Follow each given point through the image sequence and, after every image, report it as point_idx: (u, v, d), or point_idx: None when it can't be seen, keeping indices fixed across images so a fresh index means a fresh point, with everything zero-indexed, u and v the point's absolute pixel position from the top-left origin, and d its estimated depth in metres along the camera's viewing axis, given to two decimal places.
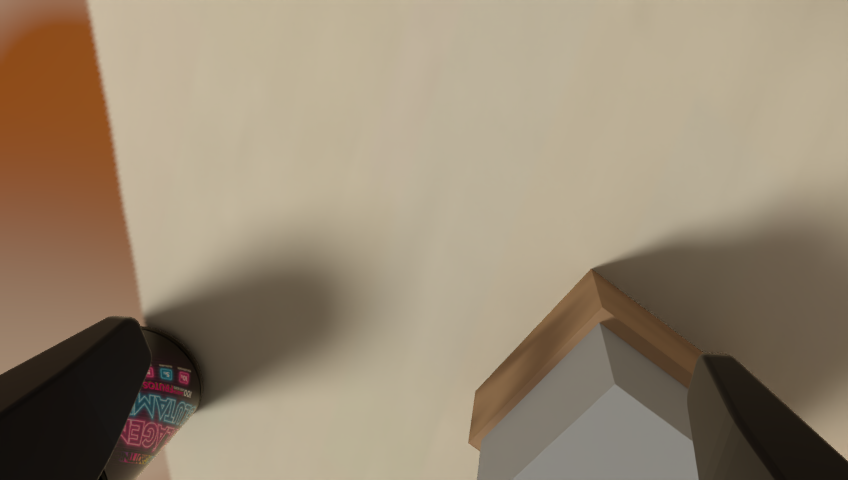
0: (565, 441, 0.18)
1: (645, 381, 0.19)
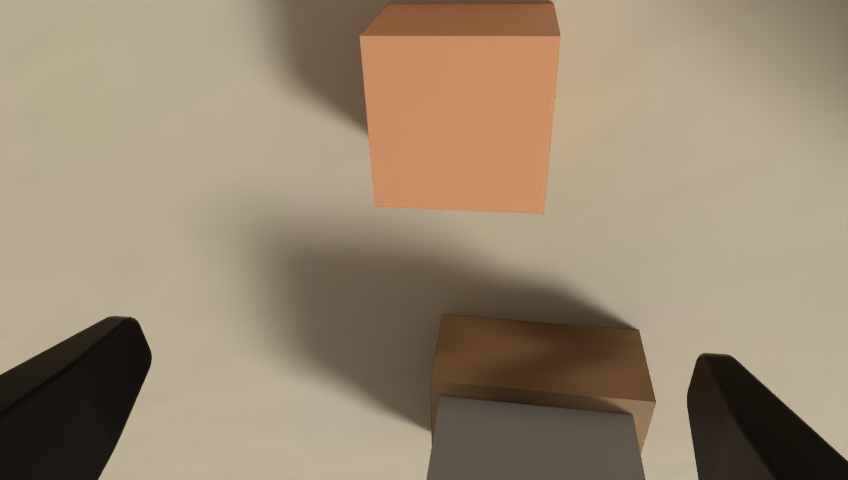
0: None
1: None
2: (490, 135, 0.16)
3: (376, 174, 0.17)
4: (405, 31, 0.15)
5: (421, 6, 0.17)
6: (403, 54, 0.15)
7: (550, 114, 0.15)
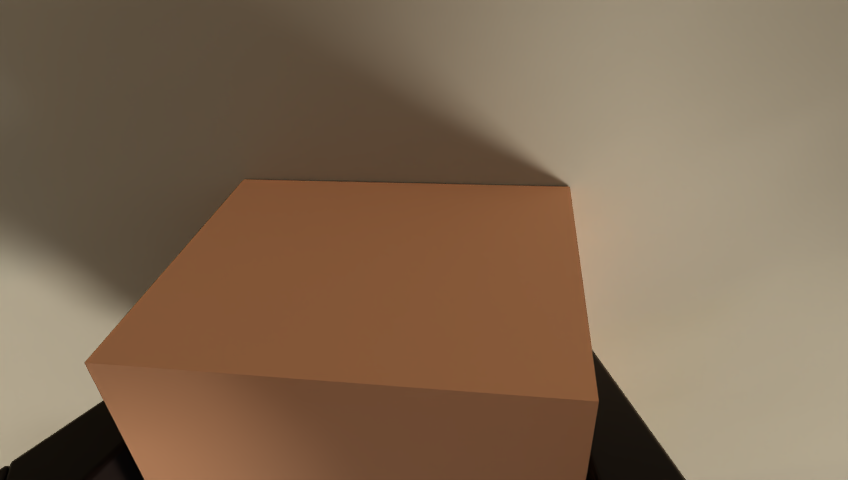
0: None
1: None
2: None
3: None
4: (209, 336, 0.06)
5: (299, 196, 0.09)
6: (200, 402, 0.06)
7: None
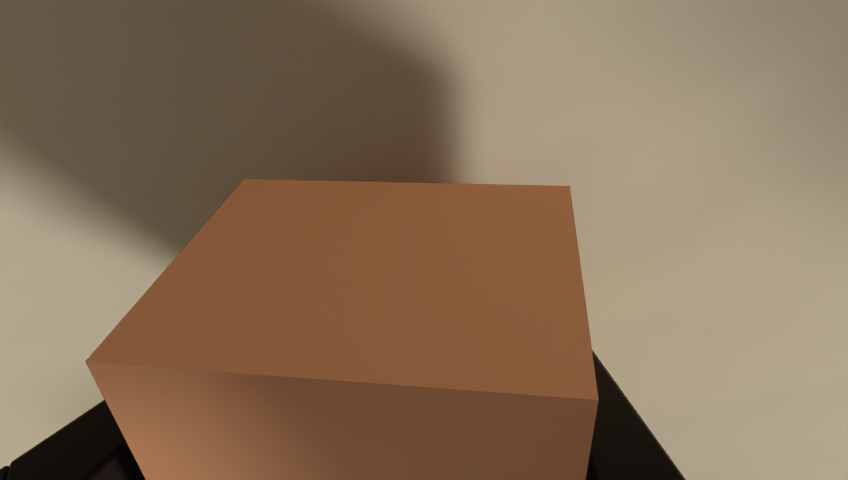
0: None
1: None
2: None
3: None
4: (209, 335, 0.06)
5: (299, 195, 0.09)
6: (201, 401, 0.06)
7: None
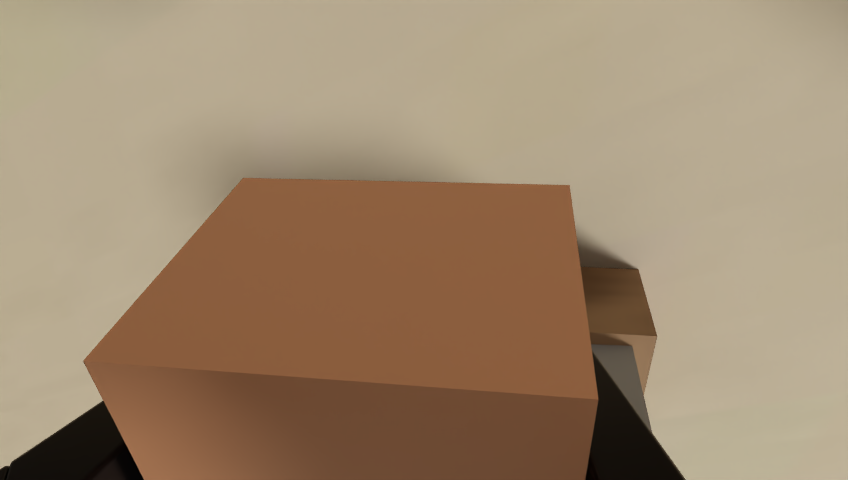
0: None
1: None
2: None
3: None
4: (208, 334, 0.06)
5: (298, 194, 0.09)
6: (199, 401, 0.06)
7: None
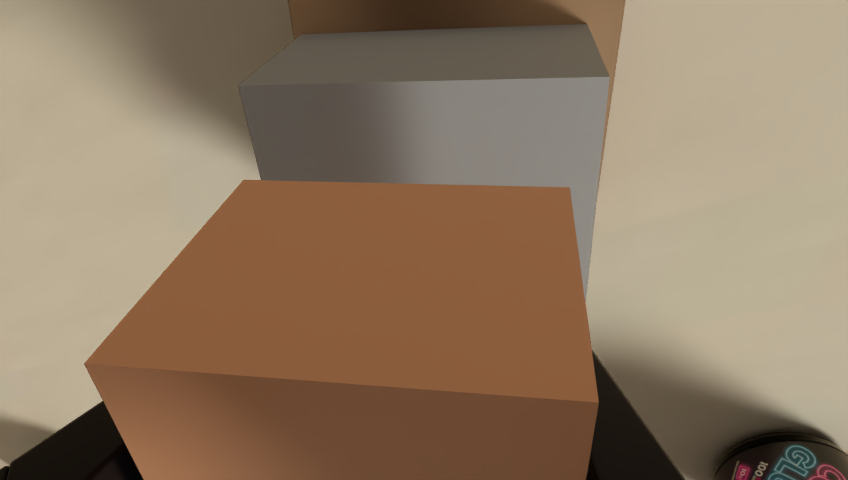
0: None
1: None
2: None
3: None
4: (208, 337, 0.06)
5: (298, 196, 0.09)
6: (200, 404, 0.06)
7: None
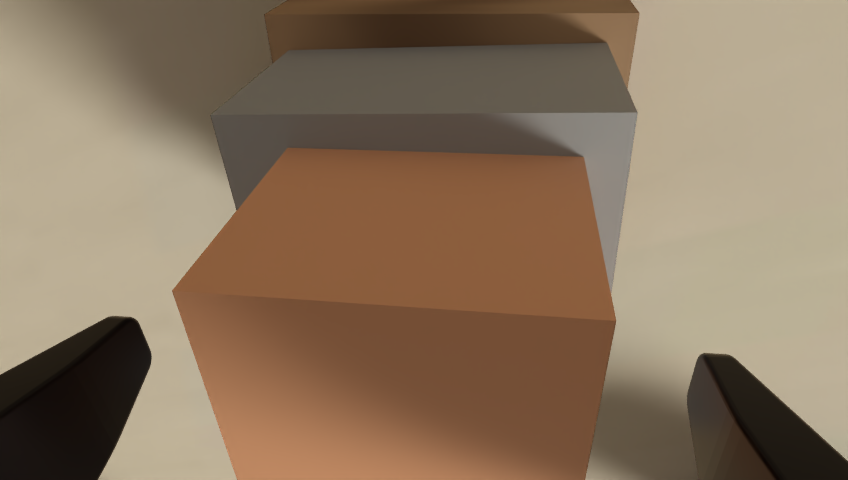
0: None
1: None
2: (460, 461, 0.08)
3: None
4: (276, 272, 0.07)
5: (340, 162, 0.10)
6: (270, 327, 0.07)
7: (586, 442, 0.07)
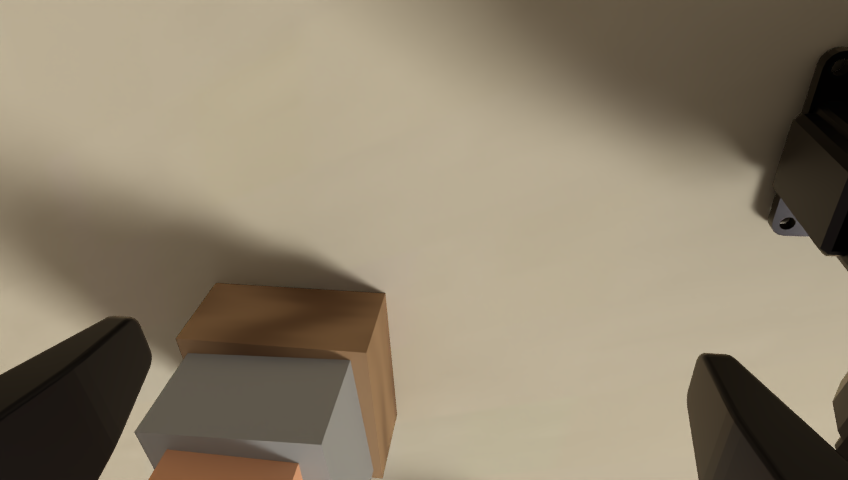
0: None
1: None
2: None
3: None
4: None
5: (187, 463, 0.21)
6: None
7: None
